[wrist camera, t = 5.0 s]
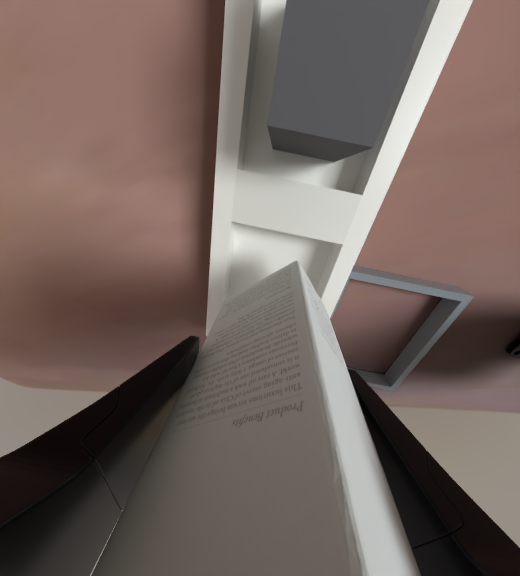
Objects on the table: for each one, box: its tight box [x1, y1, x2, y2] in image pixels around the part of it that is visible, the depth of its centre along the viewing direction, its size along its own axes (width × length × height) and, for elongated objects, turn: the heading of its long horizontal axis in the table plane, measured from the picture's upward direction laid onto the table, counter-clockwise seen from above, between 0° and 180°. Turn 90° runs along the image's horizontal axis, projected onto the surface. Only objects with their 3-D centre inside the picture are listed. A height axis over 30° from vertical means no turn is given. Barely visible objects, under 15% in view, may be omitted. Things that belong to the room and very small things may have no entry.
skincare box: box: [92, 261, 421, 576], centre depth 9 cm, size 6×4×12 cm
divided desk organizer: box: [206, 0, 473, 336], centre depth 13 cm, size 10×24×2 cm, turn 170°
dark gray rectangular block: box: [267, 0, 430, 162], centre depth 8 cm, size 4×6×6 cm, turn 170°
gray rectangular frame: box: [330, 266, 475, 392], centre depth 18 cm, size 10×12×2 cm
